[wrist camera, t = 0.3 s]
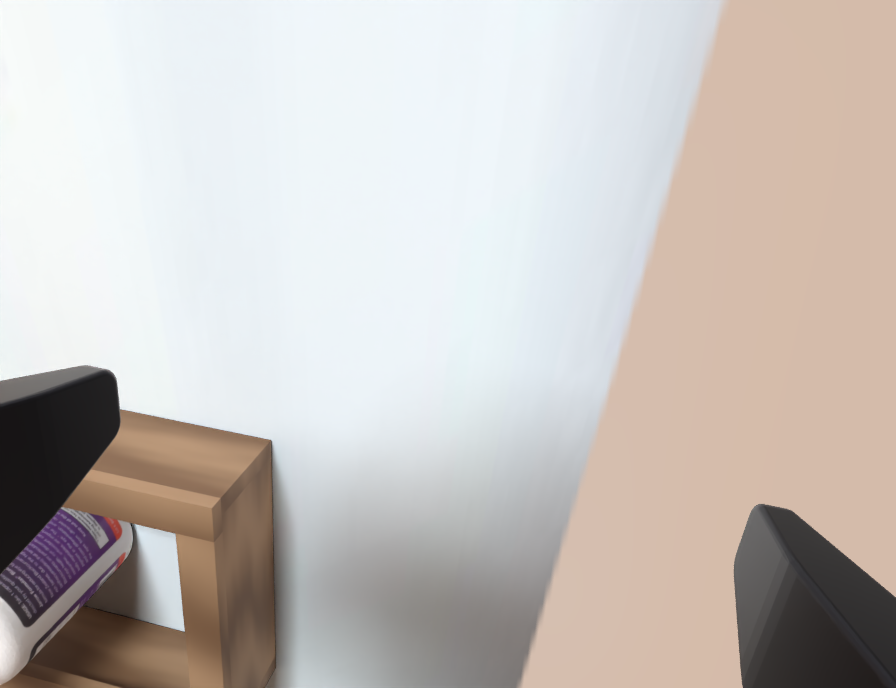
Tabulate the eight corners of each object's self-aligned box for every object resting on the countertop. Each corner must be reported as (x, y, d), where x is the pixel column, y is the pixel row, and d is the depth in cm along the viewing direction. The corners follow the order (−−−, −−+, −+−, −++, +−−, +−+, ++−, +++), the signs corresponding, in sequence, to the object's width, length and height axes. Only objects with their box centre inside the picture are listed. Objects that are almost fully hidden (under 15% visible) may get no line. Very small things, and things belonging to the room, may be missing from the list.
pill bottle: (23, 461, 31) (-204, 619, 23) (128, 480, 30) (-67, 653, 22) (45, 554, 33) (-153, 730, 25) (144, 574, 33) (-27, 766, 24)
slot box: (275, 667, 33) (228, 755, 29) (-59, 580, 36) (-145, 648, 32) (271, 440, 28) (211, 508, 24) (-121, 360, 31) (-235, 408, 27)
